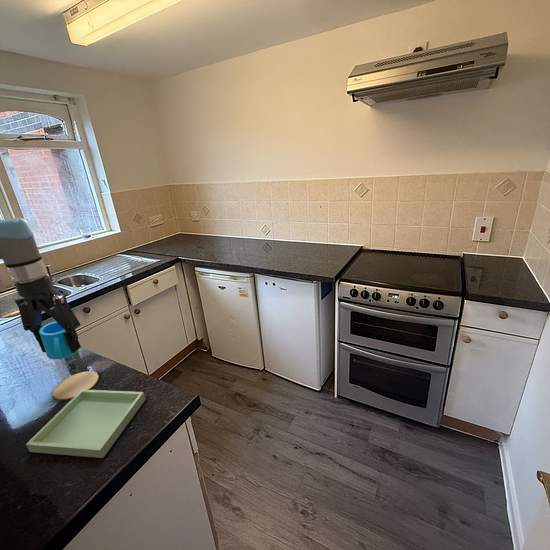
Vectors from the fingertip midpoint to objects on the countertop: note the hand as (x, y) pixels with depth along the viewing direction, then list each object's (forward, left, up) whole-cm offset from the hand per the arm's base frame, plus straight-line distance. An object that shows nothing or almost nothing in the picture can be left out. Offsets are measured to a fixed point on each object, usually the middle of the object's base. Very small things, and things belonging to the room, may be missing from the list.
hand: (61, 349), depth 87 cm
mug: (0, 0, -2) cm, 2 cm away
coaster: (0, 0, -13) cm, 13 cm away
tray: (+16, -13, -13) cm, 24 cm away
